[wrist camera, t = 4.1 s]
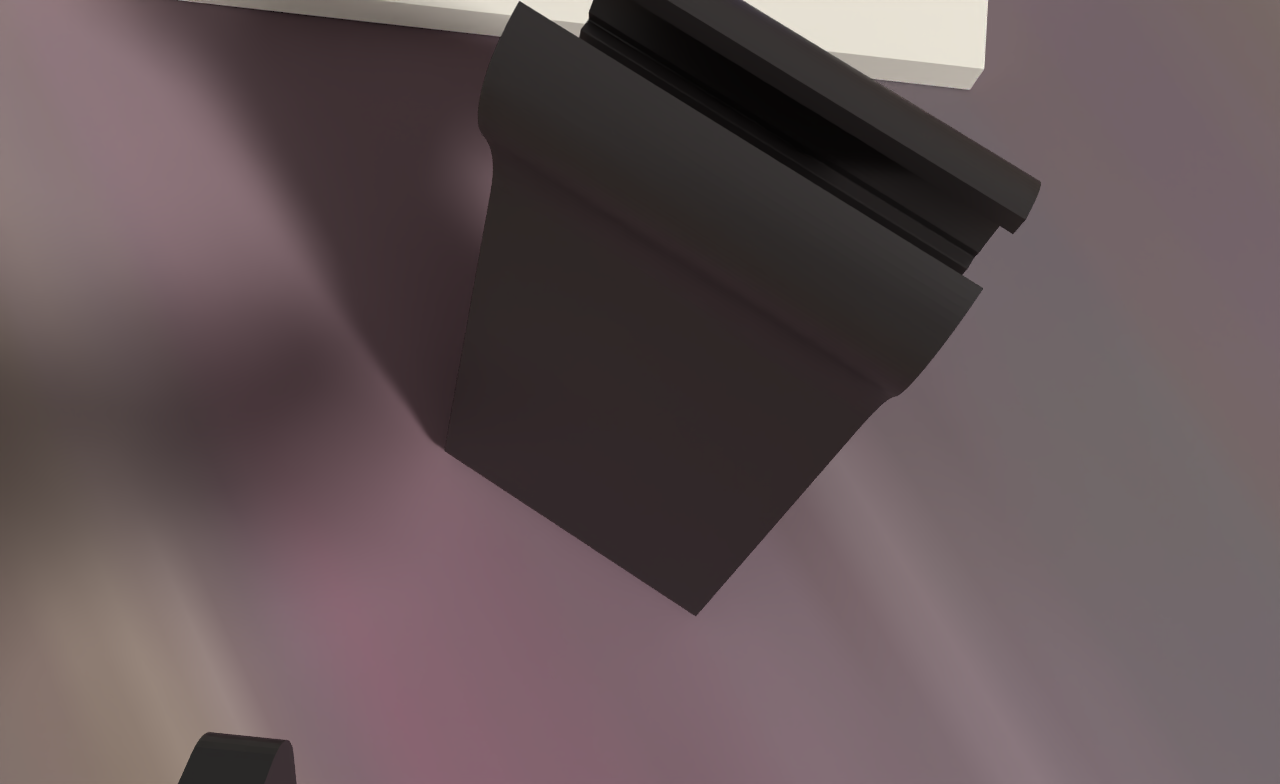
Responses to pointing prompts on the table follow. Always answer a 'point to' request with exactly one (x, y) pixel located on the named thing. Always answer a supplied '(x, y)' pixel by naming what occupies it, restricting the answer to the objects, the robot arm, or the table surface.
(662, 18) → the phone stand
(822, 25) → the white flat board
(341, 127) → the table surface
